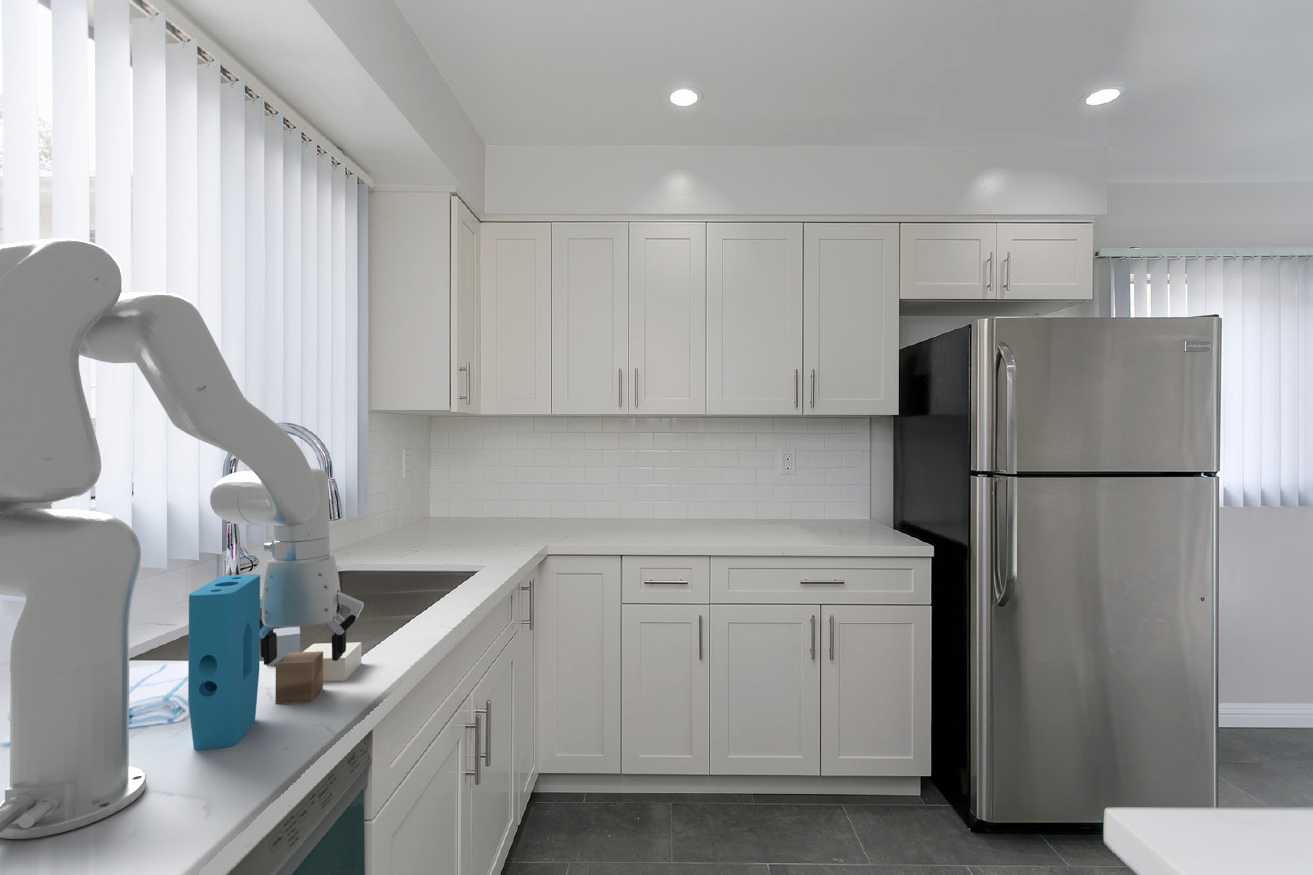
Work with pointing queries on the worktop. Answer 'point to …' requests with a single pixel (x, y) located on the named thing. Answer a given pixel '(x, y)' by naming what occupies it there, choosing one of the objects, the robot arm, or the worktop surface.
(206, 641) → the block
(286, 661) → the walnut block
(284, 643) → the slate cube
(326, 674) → the limestone block
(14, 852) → the worktop surface
